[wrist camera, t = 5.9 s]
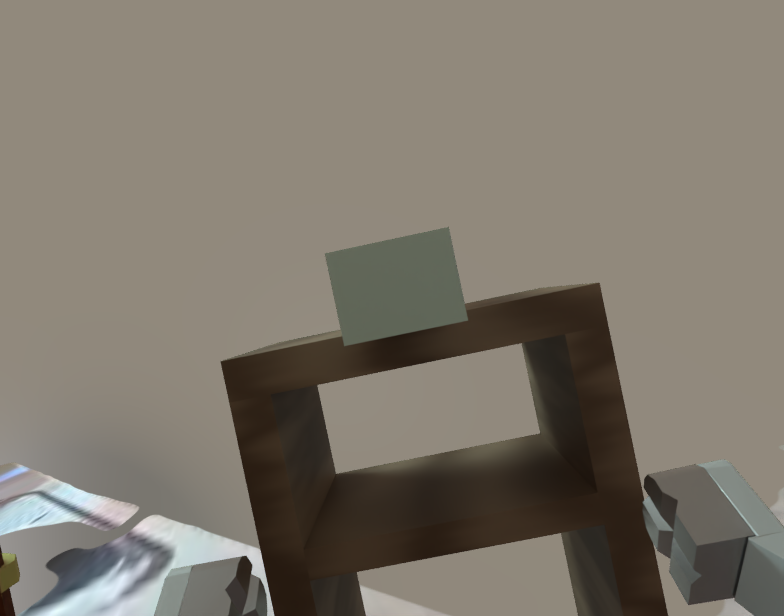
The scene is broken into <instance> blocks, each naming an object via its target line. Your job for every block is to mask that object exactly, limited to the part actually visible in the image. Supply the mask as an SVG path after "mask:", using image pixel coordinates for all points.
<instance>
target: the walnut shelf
mask: <svg viewBox="0 0 784 616" xmlns="http://www.w3.org/2000/svg"><path fill="white" fill-rule="evenodd" d="M465 308H466V313H467V317H468V321H463V322H458V323H453V324H449V325H444V326H439V327H434V328H429V329H424V330H420V331H415V332H410V333H405V334H400V335H396V336H391V337H386V338H381V339H376V340H371V341H367V342H362V343H357V344H352V345H347V346H344V342H343V337H342V333H341V330H337V331H332V332H328V333H323V334H318V335H313V336H309V337H303V338H298V339H294V340H289V341H284V342H279V343H276V344H273V345H270V346H266V347H264V348H261V349H257V350H254V351H251V352H248V353H245V354H242V355H239V356H236V357H233V358H230V359H227V360H223V361H221V365H222V370H223V375H224V379H225V384H226V389H227V394H228V398H229V403H230V408H231V412H232V417H233V422H234V427H235V432H236V436H237V441H238V446H239V450H240V455H241V459H242V465H243V469H244V474H245V479H246V483H247V488H248V493H249V498H250V502H251V507H252V512H253V516H254V521H255V526H256V531H257V535H258V540H259V545H260V549H261V554H262V559H263V564H264V568H265V573H266V578H267V582H268V587H269V592H270V596H271V601H272V606H273V611H274V615H275V616H366V615H365V610H364V605H363V600H362V596H361V591H360V586H359V581H358V577H357V572H359V571H363V570H369V569H374V568H380V567H385V566H390V565H396V564H400V563H406V562H411V561H416V560H422V559H427V558H432V557H437V556H443V555H448V554H453V553H458V552H464V551H469V550H474V549H479V548H485V547H490V546H495V545H500V544H506V543H511V542H516V541H521V540H526V539H532V538H537V537H542V536H547V535H553V534H558V533H561V535H562V540H563V545H564V549H565V555H566V559H567V564H568V569H569V574H570V578H571V583H572V588H573V593H574V598H575V603H576V607H577V612H578V616H668V613H667V609H666V603H665V598H664V594H663V589H662V584H661V579H660V574H659V570H658V565H657V560H656V555H655V550H654V545H653V542H652V540H651V538H650V536H649V533H648V531H647V528H646V525H645V521H644V517H643V502H644V497H643V492H642V487H641V482H640V477H639V472H638V467H637V463H636V458H635V453H634V448H633V443H632V438H631V434H630V429H629V424H628V419H627V414H626V409H625V404H624V400H623V395H622V390H621V385H620V380H619V375H618V370H617V366H616V361H615V356H614V351H613V346H612V341H611V336H610V332H609V327H608V322H607V317H606V313H605V308H604V303H603V298H602V293H601V288H600V283H590V284H579V285H568V286H557V287H547V288H538V289H534V290H529V291H524V292H519V293H514V294H510V295H505V296H500V297H495V298H491V299H486V300H481V301H476V302H471V303H467V304H465ZM519 343H522V347H523V352H524V357H525V362H526V366H527V371H528V376H529V381H530V386H531V391H532V396H533V400H534V405H535V410H536V415H537V419H538V424H539V429H540V434H536V435H531V436H525V437H520V438H515V439H510V440H505V441H500V442H496V443H490V444H485V445H480V446H475V447H470V448H465V449H460V450H455V451H450V452H445V453H440V454H435V455H430V456H425V457H420V458H414V459H410V460H404V461H399V462H394V463H389V464H384V465H380V466H374V467H369V468H364V469H360V470H354V471H349V472H344V473H339V474H336V472H335V467H334V463H333V458H332V453H331V449H330V444H329V439H328V434H327V430H326V425H325V420H324V415H323V411H322V406H321V401H320V397H319V392H318V387H317V385H319V384H324V383H329V382H334V381H338V380H343V379H348V378H353V377H358V376H363V375H367V374H373V373H378V372H382V371H387V370H392V369H397V368H402V367H406V366H412V365H416V364H422V363H426V362H431V361H436V360H441V359H446V358H451V357H456V356H461V355H465V354H470V353H475V352H480V351H485V350H490V349H495V348H500V347H504V346H509V345H514V344H519Z"/></svg>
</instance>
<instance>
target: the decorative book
mask: <svg viewBox="0 0 784 616" xmlns="http://www.w3.org/2000/svg"><path fill="white" fill-rule="evenodd" d="M19 577H20V572H19V568H18V563H17V558H16V554H8V553H2V551H1V547H0V616H15V612H14V607H13V603H12V598H11V593H10V589H9V588H10V587H11V586H12V585H14V584H15V583H17V582H18V581H19Z"/></svg>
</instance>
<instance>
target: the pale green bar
mask: <svg viewBox="0 0 784 616" xmlns="http://www.w3.org/2000/svg"><path fill="white" fill-rule="evenodd" d="M325 256H326V261H327V266H328V271H329V275H330V280H331V285H332V290H333V295H334V299H335V304H336V309H337V314H338V318H339V323H340V328H341V333H342V337H343V342H344V346H347V345H352V344H357V343H362V342H367V341H371V340H376V339H381V338H386V337H391V336H396V335H400V334H405V333H410V332H415V331H420V330H424V329H429V328H434V327H439V326H444V325H449V324H453V323H458V322H463V321H468V317H467V313H466V308H465V303H464V298H463V294H462V289H461V284H460V279H459V274H458V270H457V265H456V260H455V255H454V251H453V245H452V241H451V236H450V232H449V227H447V228H442V229H438V230H433V231H428V232H424V233H419V234H414V235H410V236H405V237H400V238H395V239H391V240H386V241H382V242H377V243H372V244H367V245H363V246H358V247H353V248H349V249H344V250H340V251H335V252H330V253H326V254H325Z"/></svg>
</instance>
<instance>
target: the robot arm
mask: <svg viewBox="0 0 784 616" xmlns="http://www.w3.org/2000/svg"><path fill="white" fill-rule="evenodd" d="M644 489H645V490H646V492H647V494H648V495H649V496H648V497H647V498H646V499H645V500H644V502H643V517H644V521H645V525H646V528H647V531H648V533H649V536H650V538H651V540H652V542H653V544H654V545H655V547H656V549H657V551H659V552H660V553H662V554H663V555H665V556H667V557H668V558H670V570H669V572H670V574H671V576H672V578H673V579H674V581H675V583H676V585H677V586H678V588H679V590H680V592H681V593H682V595H683V597H684V599H685V600H686V602H687V604H688V605H692V604H698V603H704V602H711V601H716V600H723V599H730V598H735V601H736V602H737V603H739V604H740V605H741V606H743V607H744V608H745V609H746V610H748V611H749V612H750V613H752V614H753V615H754V616H784V526H783V525H782V524H781V523H780V521H779V520H778V519H777V518H776V517H775V515H774V514H773V513H772V512H771V511H770V509H769V508H768V507H767V506H766V505H765V504H764V502H763V501H762V500H761V499H760V498H759V496H758V495H757V494H756V493H755V492H754V490H753V489H752V488H751V487H750V485H749V484H748V483H747V482H746V481H745V479H743V477H742V476H741V475H740V474H739V472H738V471H737V470H736V469H735V467H734V466H733V465H732V464H731V463H730V462H728V461H726V460H725V459H724V460H717V461H712V462H708V463H703V464H699V465H695V464H694V465H690V466H685V467H681V468H676V469H671V470H667V471H663V472H658V473H653V474H648V475H647V476H646V477H645V479H644ZM251 571H252V564H251V562H250V561H249V559H248V558H247V556H242V557H236V558H231V559H225V560H220V561H214V562H208V563H203V564H196V565H191V566H186V567H181V568H176V569H171V571H170V572H169V574H168V575H167V577H166V578H165V581H164V585H163V588H162V591H161V594H160V598H159V601H158V604H157V607H156V611H155V614H154V616H267V598H266V593H265V589H264V585H263V583H262V582H261V580H260V578H258V577H256V576H254V575H252V574H251Z"/></svg>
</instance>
